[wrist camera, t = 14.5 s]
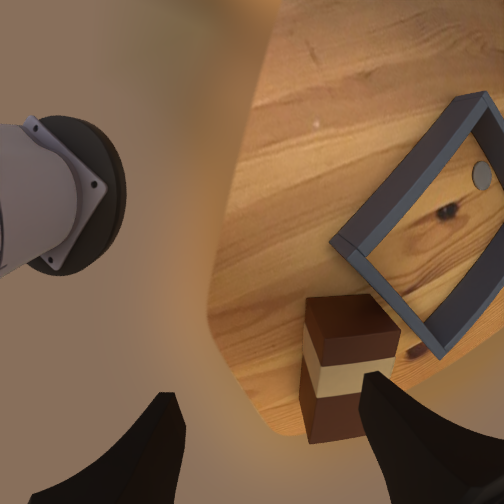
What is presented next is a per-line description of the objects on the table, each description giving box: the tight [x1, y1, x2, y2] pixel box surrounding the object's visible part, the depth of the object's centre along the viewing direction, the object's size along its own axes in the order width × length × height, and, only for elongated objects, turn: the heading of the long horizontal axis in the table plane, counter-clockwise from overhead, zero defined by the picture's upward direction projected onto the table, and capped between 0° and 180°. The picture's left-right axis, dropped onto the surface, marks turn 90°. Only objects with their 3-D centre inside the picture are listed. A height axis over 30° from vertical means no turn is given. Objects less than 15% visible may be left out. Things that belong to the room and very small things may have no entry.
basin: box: [329, 91, 504, 360], centre depth 17 cm, size 12×15×4 cm
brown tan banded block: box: [299, 294, 401, 444], centre depth 18 cm, size 5×9×5 cm, turn 1°
